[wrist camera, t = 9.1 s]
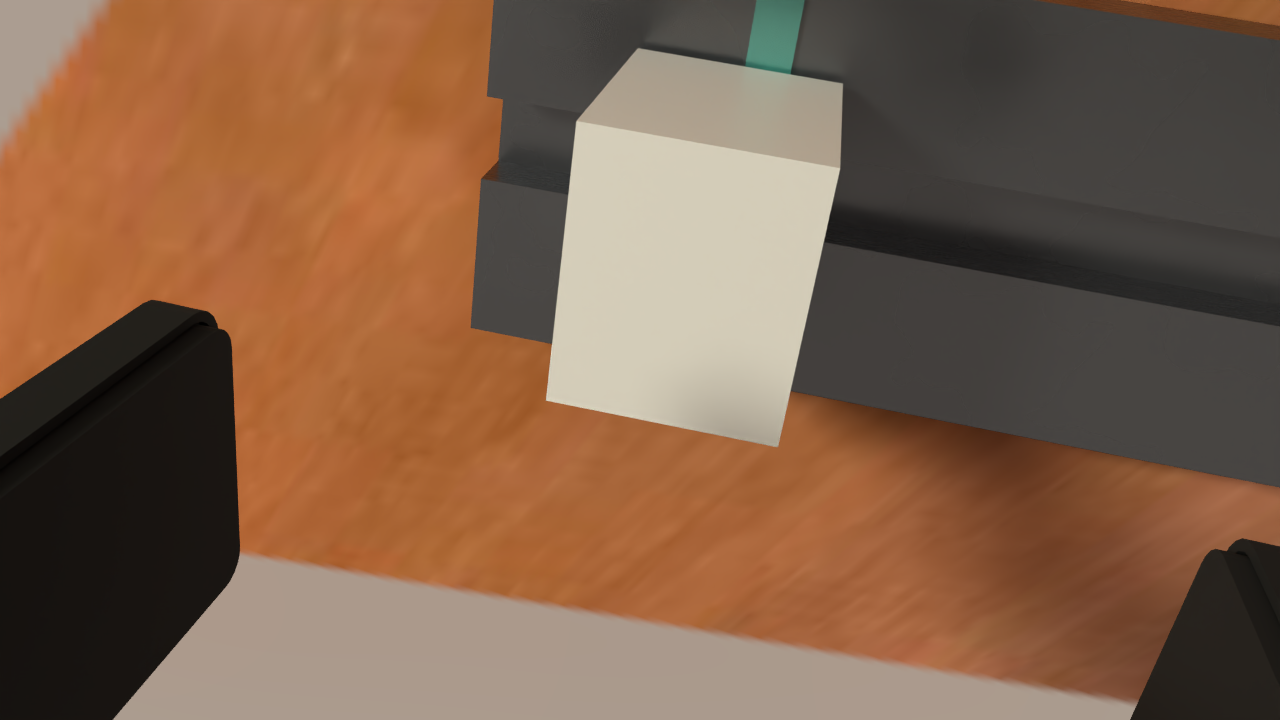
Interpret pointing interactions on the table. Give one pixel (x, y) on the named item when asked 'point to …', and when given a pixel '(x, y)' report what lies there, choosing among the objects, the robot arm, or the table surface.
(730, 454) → the table surface
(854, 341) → the fader housing
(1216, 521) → the table surface
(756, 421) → the fader tab
